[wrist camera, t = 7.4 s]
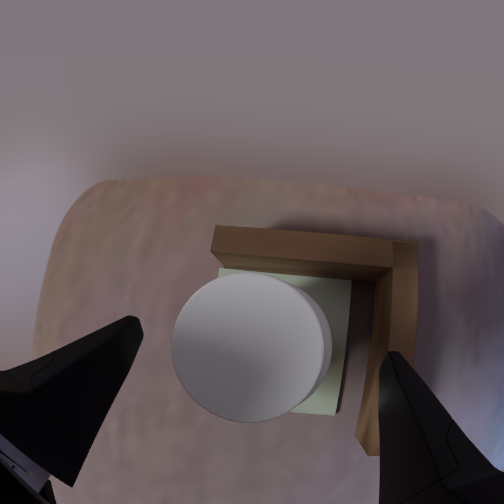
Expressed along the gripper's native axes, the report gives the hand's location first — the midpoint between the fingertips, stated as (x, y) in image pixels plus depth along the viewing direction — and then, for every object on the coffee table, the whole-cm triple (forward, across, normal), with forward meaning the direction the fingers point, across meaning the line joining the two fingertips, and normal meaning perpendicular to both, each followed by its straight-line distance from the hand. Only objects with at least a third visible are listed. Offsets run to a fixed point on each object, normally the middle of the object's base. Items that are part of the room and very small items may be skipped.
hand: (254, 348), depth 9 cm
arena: (+7, -2, +6) cm, 9 cm away
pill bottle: (+6, 0, +6) cm, 9 cm away
